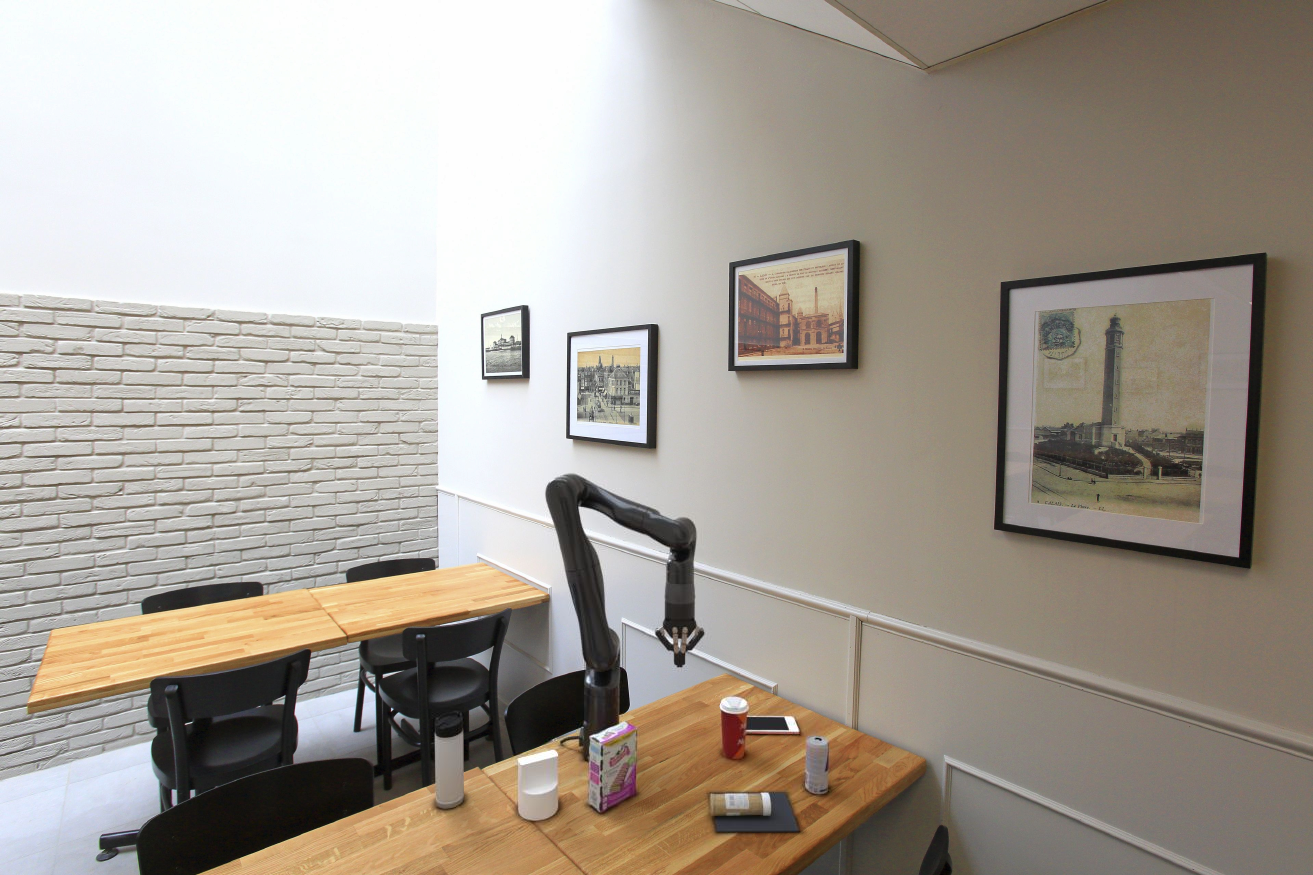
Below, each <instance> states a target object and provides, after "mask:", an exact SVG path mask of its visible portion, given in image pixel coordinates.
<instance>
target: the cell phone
mask: <svg viewBox="0 0 1313 875" xmlns="http://www.w3.org/2000/svg"><path fill="white" fill-rule="evenodd" d="M748 734H752V735H755V734H756V735H757V734H761V735H766V734H767V735H799V734H800V729H799V727H798V724H797V722H796V720H795V717H794V716H784V715H747V723H746V735H748Z"/></svg>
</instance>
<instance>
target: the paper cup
mask: <svg viewBox="0 0 1313 875" xmlns="http://www.w3.org/2000/svg"><path fill="white" fill-rule="evenodd" d="M749 709H750V707H749V704H748V701H747V700H746V699H744V698H743V697H740V696H727V697H724V698H722V700H721V701H720V703H719V710H720V719H721V720H720V721H721V722H720V723H721V724H720V725H721V742H722V743H721V744H722V754H723V756H724V757H725V758H726V759H727V758H728V759H730V760H740V759H742V758H743V757H744V755H745V748H746V737H747V736H746V735H747V733H746V723H747V716H748V711H749Z"/></svg>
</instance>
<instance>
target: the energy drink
mask: <svg viewBox="0 0 1313 875" xmlns="http://www.w3.org/2000/svg"><path fill="white" fill-rule="evenodd" d="M829 757H830V744H829V740H828V739H827V738H826V737H825V736H822V735H818V734H812V735H809V736H807V738H806V741H805V772H804V774H805V778H804V780H805V782H804V786H805V789H806V790H807V791H808V792H809V793H811V794H813V795H824V794H826V793H827V792H828V791H829V765H830V764H829V763H830V762H829V761H830V758H829Z"/></svg>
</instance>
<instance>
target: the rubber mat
mask: <svg viewBox="0 0 1313 875" xmlns="http://www.w3.org/2000/svg"><path fill="white" fill-rule="evenodd" d="M740 793H747V794H758V793H769V796H770V801H771V815H770V816H762V815H739V816H713V821H714V826H715V832H716V833H717V834H719V833H720V834H722V833H723V834H729V833H730V834H731V833H733V834H735V833H737V834H738V833H739V834H740V833H745V834H746V833H747V834H748V833H749V834H750V833H800V829H799V826H798V823H797V821H796V818H795V815H794V812H793V810H792V806H791V804H790V801H789V798H788V796H787V793H786V791H765V792H764V791H763V792H762V791H761V792H759V791H757V792H755V791H752V792H751V791H750V792H749V791H747V792H745V791H744V792H741V791H739V792H736V791H735V792H731V791H729V792H728V791H727V792H726V791H725V792H710V793H709V795H710V794H740Z"/></svg>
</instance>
